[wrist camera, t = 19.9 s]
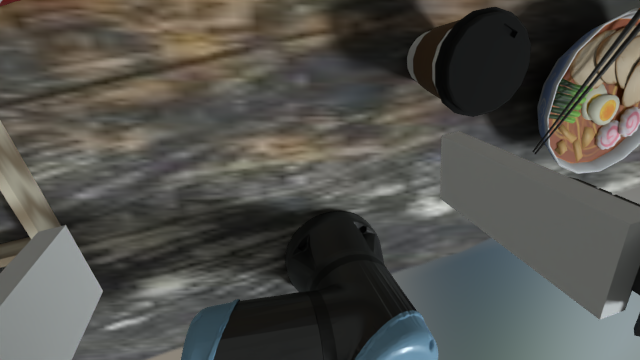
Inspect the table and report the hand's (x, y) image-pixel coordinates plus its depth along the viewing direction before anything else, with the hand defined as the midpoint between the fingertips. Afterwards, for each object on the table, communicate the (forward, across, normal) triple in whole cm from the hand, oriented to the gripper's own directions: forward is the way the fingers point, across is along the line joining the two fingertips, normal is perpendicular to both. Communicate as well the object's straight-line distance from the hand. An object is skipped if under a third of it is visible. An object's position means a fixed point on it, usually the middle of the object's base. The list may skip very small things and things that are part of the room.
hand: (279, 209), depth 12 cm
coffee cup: (+32, -25, +1) cm, 41 cm away
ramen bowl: (+32, -50, +10) cm, 60 cm away
